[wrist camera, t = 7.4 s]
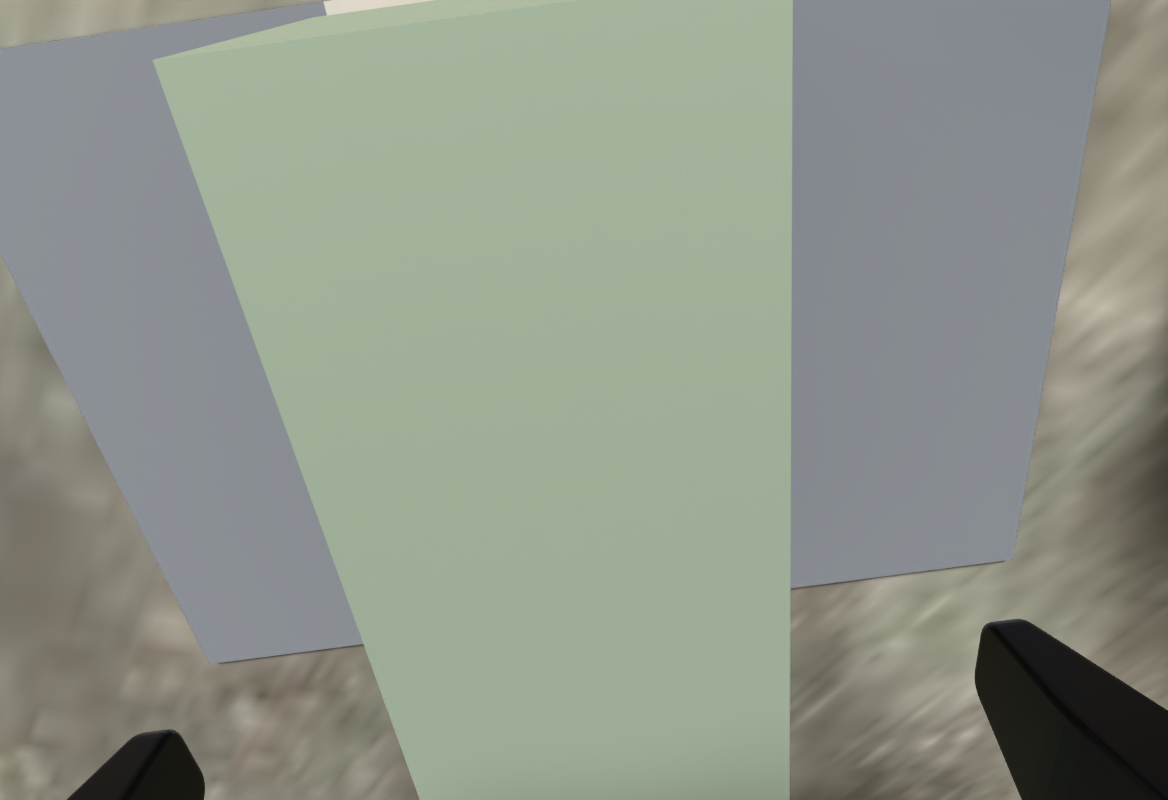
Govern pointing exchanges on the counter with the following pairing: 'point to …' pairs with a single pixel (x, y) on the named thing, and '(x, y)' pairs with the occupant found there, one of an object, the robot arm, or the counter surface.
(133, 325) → the mat
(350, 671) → the counter surface
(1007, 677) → the robot arm
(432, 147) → the plank
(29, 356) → the counter surface
